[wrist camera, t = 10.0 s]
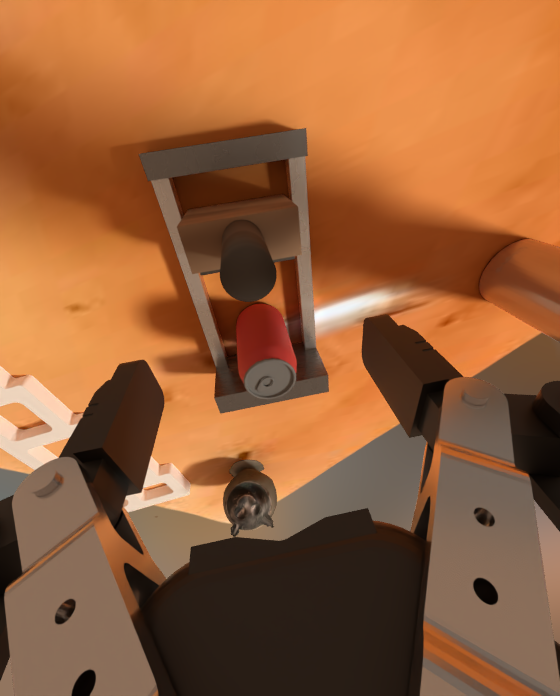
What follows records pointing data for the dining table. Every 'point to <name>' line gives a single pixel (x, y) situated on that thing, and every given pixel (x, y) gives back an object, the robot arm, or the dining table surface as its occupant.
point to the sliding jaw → (242, 242)
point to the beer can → (264, 352)
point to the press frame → (227, 375)
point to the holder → (61, 426)
